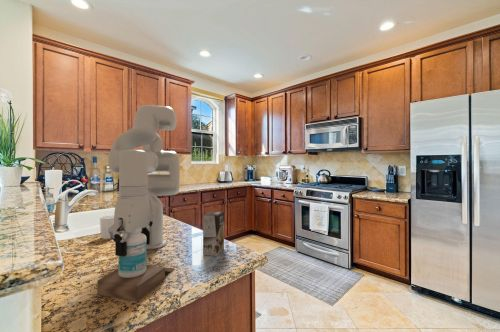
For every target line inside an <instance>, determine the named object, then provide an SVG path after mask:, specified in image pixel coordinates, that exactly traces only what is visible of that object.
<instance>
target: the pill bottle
mask: <svg viewBox="0 0 500 332" xmlns="http://www.w3.org/2000/svg"><path fill="white" fill-rule="evenodd" d="M141 231H142V228H138V229H136V231H134V232H132V233H128V235H127V237H126V239H125V242H127V255H126V256H125V257H122V256H118V269H119V276H120V277H122V278H134V277H137V276H140V275H142V274H143V273H145V271H146V269H147V263H148V262H147V260H148V259H147V255H148V254H147V251H148V250H147V238H146V235H144V234H143V233H141Z"/></svg>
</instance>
